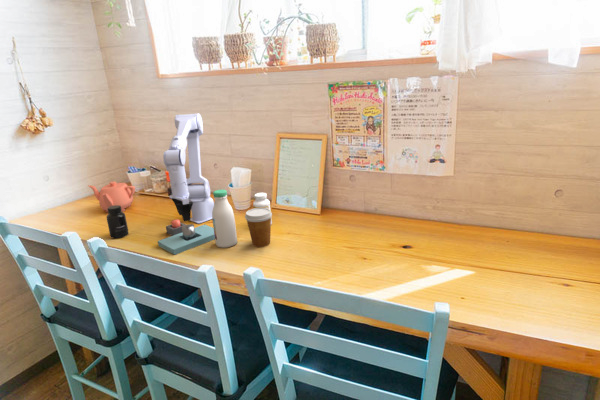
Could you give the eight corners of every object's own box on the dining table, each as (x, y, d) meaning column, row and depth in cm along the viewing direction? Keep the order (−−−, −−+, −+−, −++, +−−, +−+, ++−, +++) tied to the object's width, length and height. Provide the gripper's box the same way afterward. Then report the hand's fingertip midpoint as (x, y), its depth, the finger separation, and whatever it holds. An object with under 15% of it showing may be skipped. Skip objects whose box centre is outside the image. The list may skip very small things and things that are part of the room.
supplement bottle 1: (122, 239, 158) (116, 210, 154) (106, 238, 160) (100, 210, 156) (132, 232, 165) (126, 204, 161) (117, 231, 166) (111, 204, 162)
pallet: (205, 229, 163) (204, 224, 162) (222, 236, 154) (221, 231, 154) (158, 246, 149) (157, 241, 149) (174, 255, 141) (173, 249, 141)
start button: (178, 226, 162) (177, 218, 161) (182, 228, 160) (181, 220, 159) (171, 229, 160) (169, 221, 159) (175, 231, 158) (173, 223, 157)
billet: (193, 238, 155) (190, 223, 153) (198, 241, 151) (196, 226, 149) (182, 241, 152) (179, 226, 150) (187, 245, 149) (184, 229, 147)
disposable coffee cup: (263, 235, 152) (260, 205, 149) (280, 242, 146) (277, 210, 142) (242, 244, 146) (239, 213, 142) (259, 251, 140) (256, 218, 136)
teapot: (108, 217, 184) (101, 189, 180) (93, 210, 195) (86, 183, 191) (141, 207, 195) (136, 180, 191) (125, 201, 206) (120, 175, 202)
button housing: (180, 228, 165) (179, 221, 164) (188, 232, 161) (187, 225, 160) (166, 233, 161) (165, 226, 160) (174, 237, 157) (173, 229, 156)
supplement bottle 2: (260, 221, 167) (257, 191, 163) (275, 222, 164) (272, 192, 160) (252, 227, 161) (248, 196, 157) (266, 228, 158) (263, 197, 154)
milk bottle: (241, 240, 149) (235, 188, 143) (229, 249, 143) (222, 195, 136) (224, 238, 152) (217, 187, 146) (211, 246, 146) (203, 193, 140)
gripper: (163, 180, 151) (169, 214, 156) (171, 189, 139) (177, 226, 143) (182, 176, 154) (188, 210, 159) (192, 185, 142) (197, 221, 146)
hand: (184, 217), depth 151 cm, fingers open, 7 cm apart
